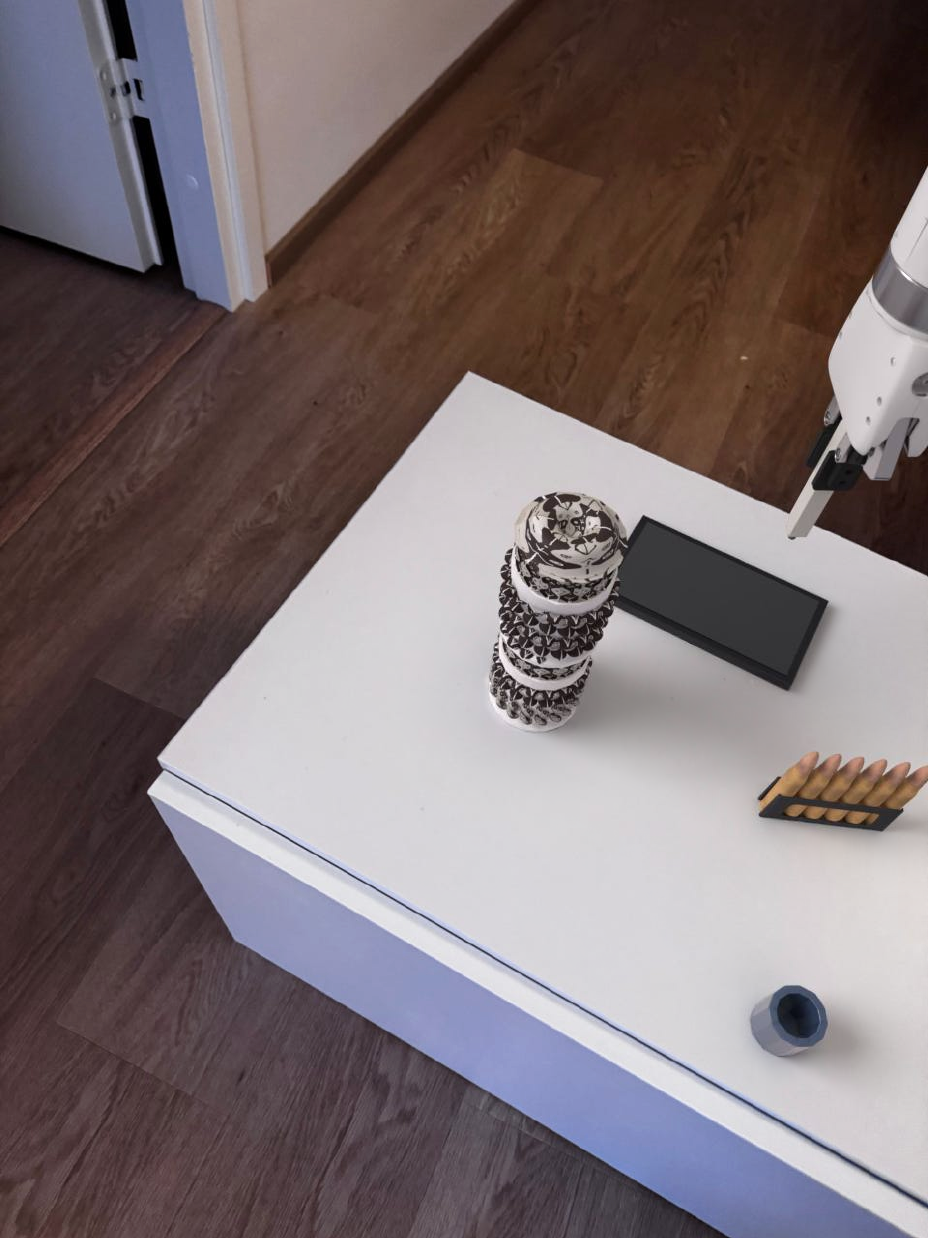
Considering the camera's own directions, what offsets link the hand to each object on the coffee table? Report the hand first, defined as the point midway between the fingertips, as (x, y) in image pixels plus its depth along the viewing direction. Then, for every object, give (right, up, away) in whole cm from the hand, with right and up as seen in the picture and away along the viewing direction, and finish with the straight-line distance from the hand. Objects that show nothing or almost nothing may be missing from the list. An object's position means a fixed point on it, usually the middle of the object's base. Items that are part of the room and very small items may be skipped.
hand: (827, 475), depth 76 cm
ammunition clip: (+2, -28, +8) cm, 30 cm away
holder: (-5, -43, -2) cm, 43 cm away
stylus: (-1, -4, +7) cm, 8 cm away
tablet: (-4, -10, +19) cm, 22 cm away
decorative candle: (-22, -18, +13) cm, 31 cm away
